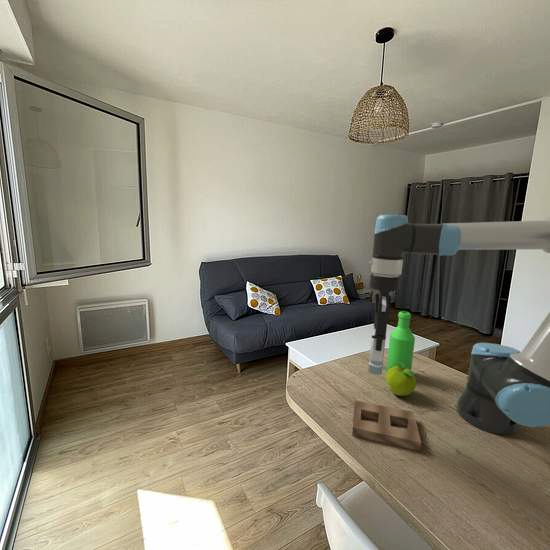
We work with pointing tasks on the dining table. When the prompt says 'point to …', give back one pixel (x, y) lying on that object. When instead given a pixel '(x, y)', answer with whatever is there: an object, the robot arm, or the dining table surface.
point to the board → (386, 425)
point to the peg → (375, 366)
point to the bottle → (401, 343)
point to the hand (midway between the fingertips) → (376, 357)
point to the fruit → (401, 380)
